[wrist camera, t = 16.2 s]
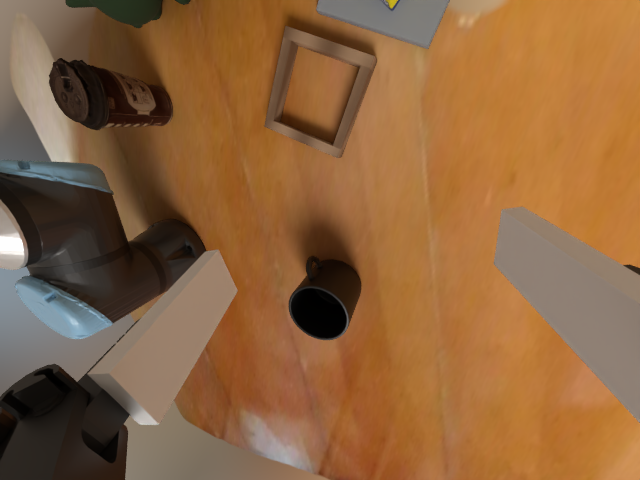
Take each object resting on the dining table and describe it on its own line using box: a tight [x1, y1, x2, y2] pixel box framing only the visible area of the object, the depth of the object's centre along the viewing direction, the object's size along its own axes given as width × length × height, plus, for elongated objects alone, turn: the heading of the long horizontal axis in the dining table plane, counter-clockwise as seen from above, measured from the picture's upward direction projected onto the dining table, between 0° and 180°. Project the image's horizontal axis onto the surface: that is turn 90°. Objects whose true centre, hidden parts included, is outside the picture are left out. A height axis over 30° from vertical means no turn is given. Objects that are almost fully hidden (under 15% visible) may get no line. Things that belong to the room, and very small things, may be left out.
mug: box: [289, 256, 361, 340], centre depth 39 cm, size 9×12×9 cm
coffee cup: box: [49, 58, 172, 130], centre depth 37 cm, size 9×8×13 cm
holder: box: [264, 26, 377, 158], centre depth 33 cm, size 12×12×2 cm
